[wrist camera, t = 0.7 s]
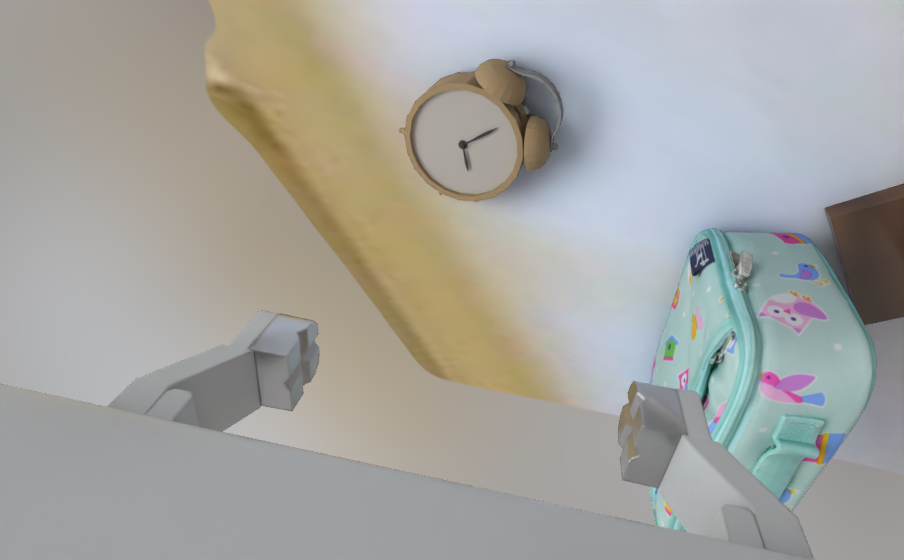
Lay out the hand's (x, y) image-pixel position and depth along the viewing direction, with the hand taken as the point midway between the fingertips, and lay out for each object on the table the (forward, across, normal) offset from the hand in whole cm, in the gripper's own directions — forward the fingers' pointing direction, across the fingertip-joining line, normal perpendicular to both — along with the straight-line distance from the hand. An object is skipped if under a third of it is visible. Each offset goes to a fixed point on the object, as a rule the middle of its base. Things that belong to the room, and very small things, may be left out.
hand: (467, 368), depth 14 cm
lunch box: (+40, -22, +21) cm, 50 cm away
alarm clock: (+41, +4, +5) cm, 41 cm away
